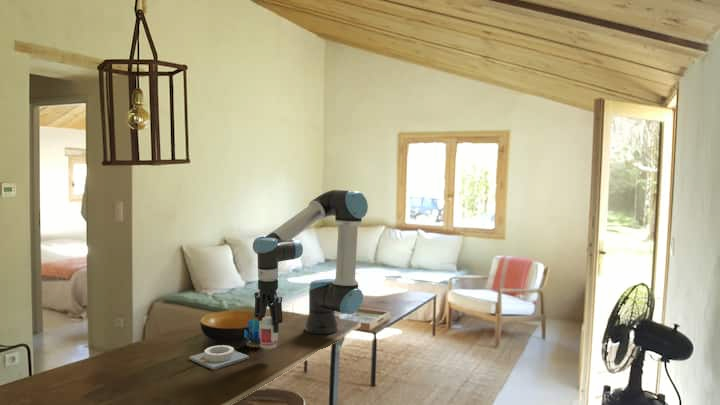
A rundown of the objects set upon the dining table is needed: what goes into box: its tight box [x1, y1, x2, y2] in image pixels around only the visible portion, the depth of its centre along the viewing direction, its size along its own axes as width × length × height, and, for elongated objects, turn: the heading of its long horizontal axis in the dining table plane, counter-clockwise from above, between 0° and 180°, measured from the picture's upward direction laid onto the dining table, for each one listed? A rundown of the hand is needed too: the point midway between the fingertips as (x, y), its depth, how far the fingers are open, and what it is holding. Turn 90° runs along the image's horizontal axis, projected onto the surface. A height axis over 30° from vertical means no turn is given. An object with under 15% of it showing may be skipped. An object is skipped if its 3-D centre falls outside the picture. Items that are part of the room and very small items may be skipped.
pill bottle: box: [260, 315, 278, 350], centre depth 196 cm, size 6×6×11 cm
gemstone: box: [243, 317, 262, 348], centre depth 215 cm, size 7×9×12 cm
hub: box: [188, 344, 250, 371], centre depth 198 cm, size 16×16×4 cm
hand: (268, 338), depth 196 cm, fingers closed on pill bottle, 6 cm apart
